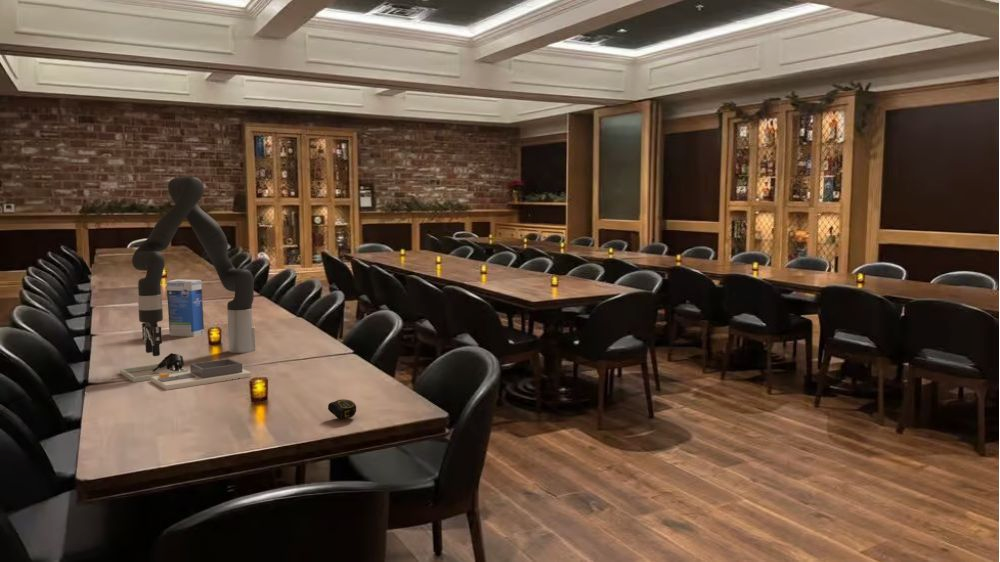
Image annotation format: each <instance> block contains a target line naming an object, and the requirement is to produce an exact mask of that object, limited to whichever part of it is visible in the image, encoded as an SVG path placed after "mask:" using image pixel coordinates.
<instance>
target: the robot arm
mask: <svg viewBox="0 0 1000 562" xmlns="http://www.w3.org/2000/svg"><path fill="white" fill-rule="evenodd" d="M204 189H205V187H204V184H203V182H202V180H201V179H200V178H198V177H196V176H180V177H179V176H178V177H173V178H172V179H170V180H169V182H168V184H167V190H168V195H169V196H170V198H171V200H172V201H173V203H174V205H173V206H172V207H171V208H170V209H169V210H168V211H167V212H166V213H165V214H163V216H161V218H160V219H159V220H158V221H156V224H155V225H154V227H153V229H152V230H151V232H150V234H149V235H148V238H146V240H144V241H143V242H142V243H141V244H140V245H139V246H138V248H137V249H136V250H135V251H134V253H133V255H132V257H131V263H132V266H133V268H135V269H136V270H138V271H144V272H145V271H146V275H145V277H142V278H140V279H139V280H138V281H137V287H138V288H137V289H138V292H137V293H138V299H137V301H138V302H137V304H138V307H137V308H138V320H139V321H138V322H140V323H142V324H141V329H142V340H143V342H144V343H145V353H147V354H150V353H152V357H159V356H160V355H161V350H160V349H161V348H160V347H161V346H160V345H162V344H163V341H162V340H163V339H162V327H161V326H158V323H159V322H162V321H163V320H164V314H163V310H164V309H163V299H162V292H161V290H162V288H161V282H162V278H163V273H164V270H165V258H164V255H163V254H162V253H161V251H165V250H167V249H168V248H169V246H170V244H171V242H172V240H173V238H174V237H175V235H176V233H177V231H178V230H179V228H180V226H181V224H182V223H183V222H184V220H185V219H186V220H187V223H188V224H189V225H190V228H191V229H192V231H194V234H195V236H196V237H197V239H198V241H199V243H200V245H201V246H202V248H203V249H204V251H205V252H206V254H207V256H208V258H209V260H210V261H211V263H212V265H213V267H214V270H216V273H217V275H218V278H219V281H220V282H221V285H222V286H223V288H224V289H225V290H227V291H229V292H234V298H233V299H232V300H230V301H228V302H227V305H226V306H227V308H226V309H227V328H228V329H227V330H228V332H227V333H228V335H227V336H228V352H229V353H230V354H231V353H232V354H243V353H244V354H245V353H246V354H247V353H251V352H253V351H254V350H255V351H256V333H255V332H256V330H255V326H253V310H252V309H253V302H254V299H255V297H254V296H255V294H254V293H255V290H254V289H255V282H254V281H255V280H254V275H253V273H252V272H251V271H250V270H249V269H245V268H235V266H234V265H233V263H232V261H231V260H230V257H229V255H228V247H229V244H228V239H227V236H226V235H225V232H224V231H223V229H222V227H221V225H220V224H219V223H218V222H217V221H216V220H215V219H214V218H213V217H211V216H210V215H209V214H208V213H207V212H205V211H204V210H203V209H202V208H201V207H200V206H199V204H198V203H199V202H200V200H201V198H202V197H203V195H204V191H205V190H204Z"/></svg>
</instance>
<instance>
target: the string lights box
mask: <svg viewBox="0 0 1000 562" xmlns="http://www.w3.org/2000/svg"><path fill="white" fill-rule="evenodd" d="M202 288H203V286H202V280H201V279H173V280H172V279H171V280H166V295H167V311H168V312H167V313H168V327H169V336H171V337H175V336H176V337H189V338H191V337H192V338H194V337H197V336H201V335H205V328H204V327H205V326H204V308H203V307H204V306H203V304H204V303H203V289H202Z"/></svg>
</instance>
